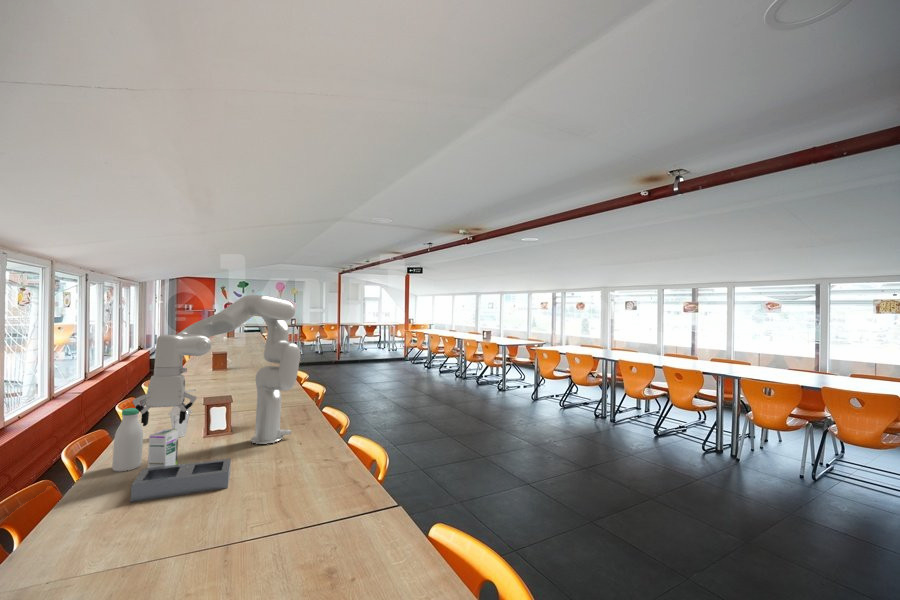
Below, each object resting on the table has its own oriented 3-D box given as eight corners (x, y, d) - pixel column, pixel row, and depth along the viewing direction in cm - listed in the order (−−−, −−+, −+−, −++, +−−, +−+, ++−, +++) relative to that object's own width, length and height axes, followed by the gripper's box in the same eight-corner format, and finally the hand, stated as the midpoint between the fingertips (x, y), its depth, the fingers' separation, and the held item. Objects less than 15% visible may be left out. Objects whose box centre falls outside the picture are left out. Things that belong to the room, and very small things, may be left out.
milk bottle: (143, 467, 132) (147, 409, 133) (113, 474, 126) (117, 413, 127) (139, 461, 137) (142, 405, 138) (110, 467, 132) (114, 408, 133)
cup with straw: (178, 432, 171) (181, 387, 171) (196, 433, 169) (199, 388, 170) (161, 438, 162) (164, 390, 163) (180, 439, 161) (183, 392, 162)
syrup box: (164, 479, 124) (166, 434, 124) (146, 479, 124) (149, 433, 124) (177, 472, 129) (179, 429, 130) (159, 471, 129) (162, 428, 130)
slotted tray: (230, 473, 130) (231, 458, 130) (227, 488, 119) (228, 471, 120) (141, 485, 119) (142, 468, 120) (130, 502, 109) (131, 484, 109)
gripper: (200, 370, 135) (196, 419, 134) (138, 370, 127) (133, 423, 126) (197, 372, 128) (192, 424, 127) (132, 374, 121) (126, 429, 120)
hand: (163, 423), depth 127 cm, fingers open, 9 cm apart
